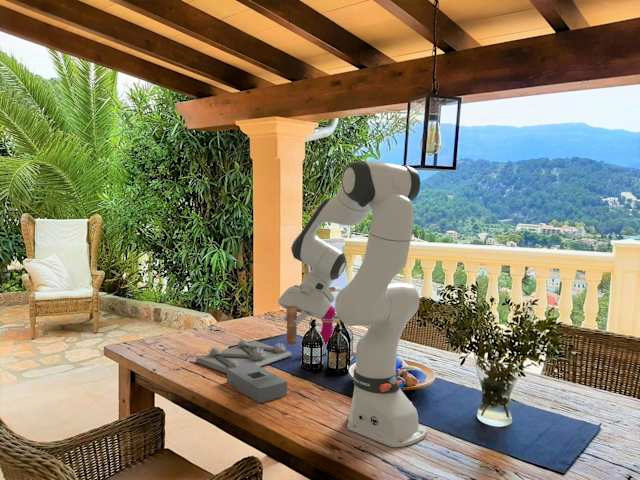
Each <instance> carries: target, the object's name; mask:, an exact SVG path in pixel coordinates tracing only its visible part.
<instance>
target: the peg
mask: <svg viewBox="0 0 640 480" xmlns="http://www.w3.org/2000/svg"><path fill="white" fill-rule="evenodd" d="M286 310H287V321H286V344H287V345H291V346H292V345H297V334H298V333H297V332H298V331H297V328H298V327H297V326H298V325H296V324H294V323H293V319H294V318H295V317H298V312H297V307H296V306H288V307H287V309H286Z"/></svg>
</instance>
